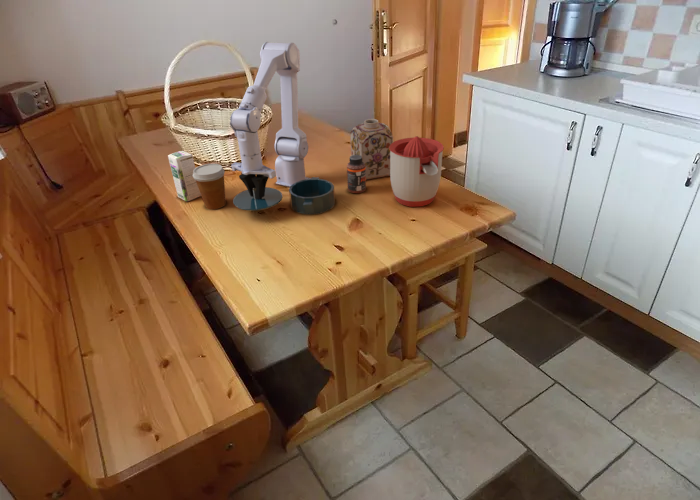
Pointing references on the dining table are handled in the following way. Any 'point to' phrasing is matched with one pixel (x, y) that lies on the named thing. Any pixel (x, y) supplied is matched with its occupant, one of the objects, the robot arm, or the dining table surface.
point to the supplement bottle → (356, 174)
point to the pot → (312, 196)
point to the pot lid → (257, 199)
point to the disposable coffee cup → (211, 184)
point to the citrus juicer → (415, 170)
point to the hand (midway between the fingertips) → (257, 196)
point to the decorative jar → (372, 147)
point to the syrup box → (184, 175)
